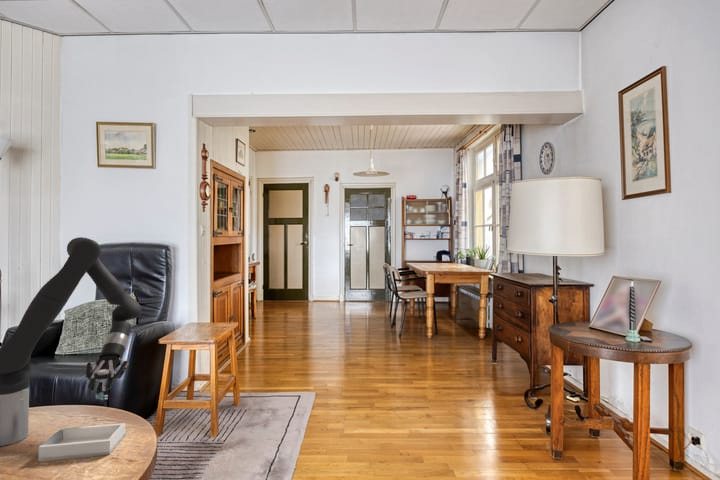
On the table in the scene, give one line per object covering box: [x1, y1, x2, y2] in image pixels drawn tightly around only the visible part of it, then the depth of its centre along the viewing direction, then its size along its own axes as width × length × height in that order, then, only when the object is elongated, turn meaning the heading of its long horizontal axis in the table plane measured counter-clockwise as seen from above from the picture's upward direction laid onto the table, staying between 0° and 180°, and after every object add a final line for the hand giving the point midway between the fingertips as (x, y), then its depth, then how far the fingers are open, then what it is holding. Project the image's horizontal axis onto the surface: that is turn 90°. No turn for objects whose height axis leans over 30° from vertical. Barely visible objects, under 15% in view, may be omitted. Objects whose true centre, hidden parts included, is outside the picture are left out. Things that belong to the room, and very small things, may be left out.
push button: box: [93, 369, 111, 401], centre depth 135 cm, size 7×5×10 cm
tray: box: [37, 422, 126, 462], centre depth 123 cm, size 20×12×4 cm, turn 102°
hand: (99, 389), depth 133 cm, fingers closed on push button, 4 cm apart
